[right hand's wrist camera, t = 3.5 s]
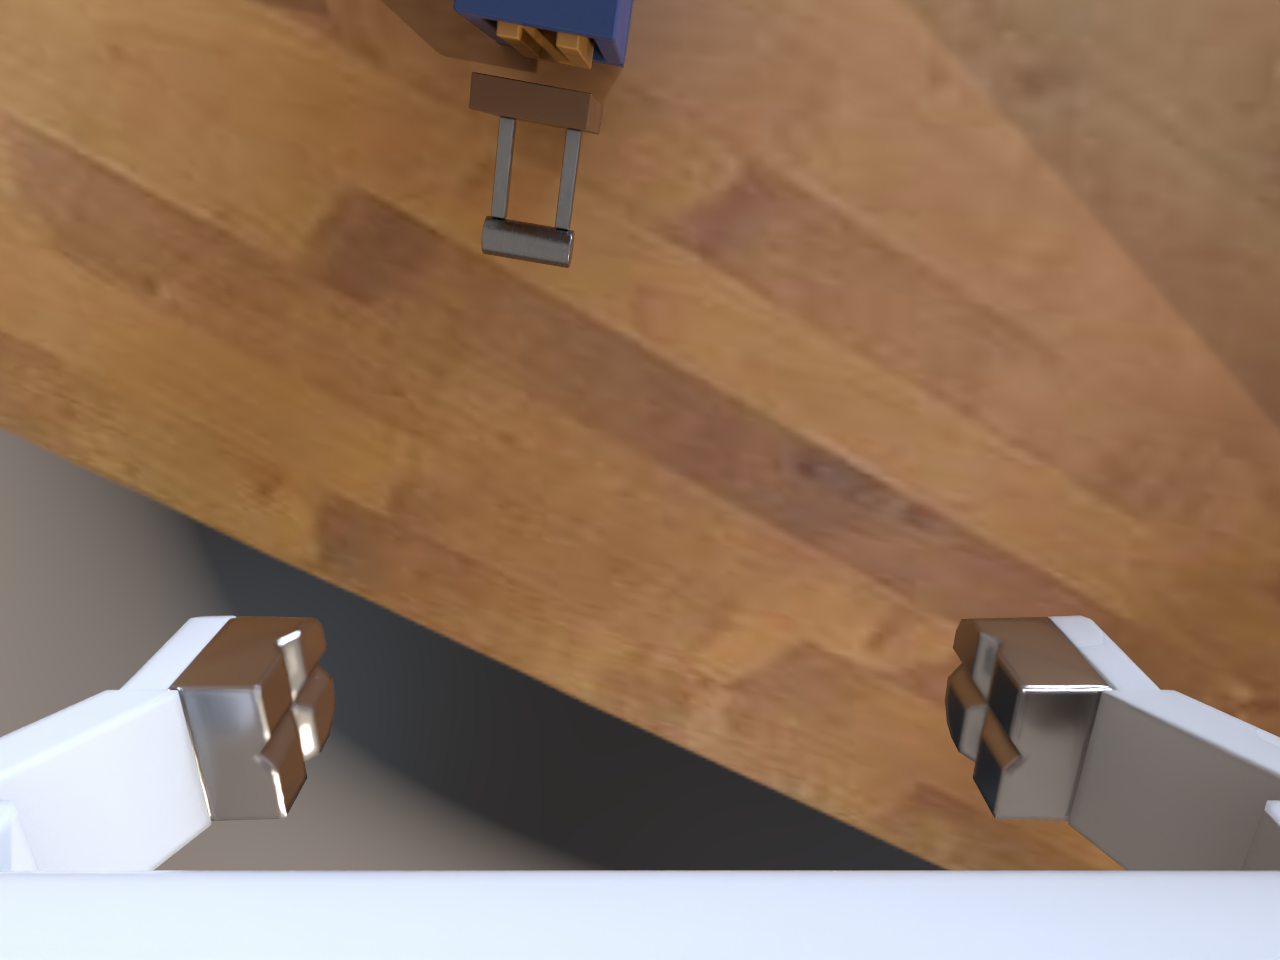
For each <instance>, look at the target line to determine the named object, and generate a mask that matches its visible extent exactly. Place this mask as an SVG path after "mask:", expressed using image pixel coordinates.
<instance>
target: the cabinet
mask: <svg viewBox="0 0 1280 960" xmlns="http://www.w3.org/2000/svg"><path fill="white" fill-rule="evenodd" d="M632 4H633V0H454V10H455V11H457V12H458V13H459V14H460V15H462V16H463V17H464V18H466V19H467V20H469V21H470V22H471V23H473V24H474V25H475V26H477V27H478V28H479V29H481V30H482V31H484V32H485V33H486V34H488V35H489V36H490V37H492V38H493V39H495V40H496V41H497V43H498V44H500V45H506V46H510V45H509V44H508V43H506V42H505V41H504V40H503V39H501V38H500V37H499V36H497V34H496V31H497V21H501V22H506V23H512V24H517V25H523V26H528V27H533V28H539V29H544V30H550V31H555V32H561V33H566V34H571V35H577V36H582V37H588V38H593V39H595V43H594V51H593V59H592V61H594V62H599V63H605V64H610V65H616V66H621V67H624V60H625V53H626V46H627V39H628V32H629V25H630V18H631V11H632Z"/></svg>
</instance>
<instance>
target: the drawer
mask: <svg viewBox="0 0 1280 960" xmlns="http://www.w3.org/2000/svg"><path fill="white" fill-rule="evenodd" d="M496 34H497V36H499V37H500V38H501V39H503V40H504V41H505V42H506V43H508V44H509V45H510V46H512V47H513V48H514V49H516V50H517V51H518V52H519V53H521V54H522V55H523V56H524V57H527V58H532V59H538V60H543V61H549V62H554V63H560V64H565V65H571V66H576V67H582V68H587V69H591V67H592V59H593V51H594V43H595V39H593V38H588V37H582V36H577V35H571V34H566V33H561V32H555V31H550V30H544V29H539V28H533V27H528V26H523V25H517V24H512V23H506V22H501V21H497V31H496ZM469 108H470V109H473V110H477V111H481V112H485V113H489V114H493V115H496V116H500V121H499V132H498V143H497V154H496V165H495V176H494V187H493V198H492V209H491V216H487V217H486V219H485V222H484V226H483V231H482V252H483V253H484V254H489V255H495V256H501V257H506V258H512V259H518V260H524V261H530V262H536V263H542V264H548V265H553V266H559V267H565V268H569V267H570V264H571V259H572V253H573V245H574V231H573V230H569V229H570V225H571V217H572V209H573V201H574V193H575V185H576V178H577V170H578V162H579V154H580V146H581V138H582V131H583V132H588V133H594V134H599V132H600V125H601V117H602V110H603V105H602V104H601V103H600V102H599V101H598V100H597V99H596V98H595V97H594V96H593V95H592V94H590V93H586V92H580V91H575V90H569V89H564V88H558V87H553V86H547V85H542V84H536V83H530V82H525V81H519V80H514V79H508V78H503V77H497V76H492V75H486V74H481V73H475V72H473V73H472V79H471V92H470V105H469ZM516 120H521V121H527V122H532V123H538V124H543V125H549V126H555V127H560V128H566V129H567V130H566V138H565V147H564V155H563V163H562V172H561V180H560V188H559V197H558V205H557V213H556V222H555V227H550V226H544V225H539V224H533V223H527V222H521V221H515V220H510V219H505V218H507V212H508V201H509V191H510V181H511V171H512V161H513V151H514V141H515V131H516Z"/></svg>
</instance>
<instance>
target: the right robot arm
mask: <svg viewBox="0 0 1280 960" xmlns="http://www.w3.org/2000/svg"><path fill="white" fill-rule="evenodd" d="M326 649H327V645H326V641H325V636H324V631H323V626H322V625H321V623H320V622H319V621H318V620H317V619H316V618H296V617H245V616H239V617H235V616H200V617H195V618H190V619H189V620H188V621H187V622H186V623H185V624H184V625H183V626H182V627H181V628H180V629H179V630H178V631H177V632H176V633H175V634H174V635H173V636H172V637H171V638H170V639H169V640H168V641H167V642H166V643H165V644H164V645H163V646H162V647H161V648H160V649H159V650H158V651H157V652H156V653H155V654H154V655H153V656H152V658H151V659H150V660H149V661H148V662H147V663H146V664H145V665H144V666H143V667H142V668H141V669H140V670H139V671H138V672H137V673H136V674H135V675H134V676H133V677H132V678H131V679H130V680H129V681H128V682H127V683H126V684H125V685H124V686H123V687H122V688H121V689H120V690H105V691H103V692H101V693H99V694H96V695H94V696H92V697H90V698H88V699H85V700H83V701H81V702H79V703H76V704H74V705H72V706H70V707H67V708H65V709H63V710H61V711H58V712H56V713H54V714H52V715H49V716H47V717H45V718H43V719H41V720H38V721H36V722H34V723H31V724H29V725H27V726H25V727H23V728H20V729H18V730H16V731H14V732H11V733H9V734H7V735H5V736H2V737H0V960H1280V737H1277V736H1275V735H1273V734H1271V733H1268V732H1266V731H1264V730H1262V729H1259V728H1257V727H1255V726H1253V725H1251V724H1248V723H1246V722H1244V721H1242V720H1239V719H1237V718H1235V717H1233V716H1230V715H1228V714H1226V713H1224V712H1221V711H1219V710H1217V709H1215V708H1213V707H1210V706H1208V705H1206V704H1204V703H1201V702H1199V701H1197V700H1195V699H1192V698H1190V697H1188V696H1186V695H1184V694H1181V693H1179V692H1177V691H1175V690H1160V689H1159V688H1158V687H1157V686H1156V685H1155V684H1154V683H1153V682H1152V681H1151V680H1150V679H1149V678H1148V677H1147V676H1146V675H1145V674H1144V673H1143V672H1142V671H1141V670H1140V669H1139V668H1138V667H1137V666H1136V664H1135V663H1134V662H1133V661H1132V660H1131V659H1130V658H1129V657H1128V656H1127V655H1126V654H1125V653H1124V652H1123V651H1122V650H1121V649H1120V648H1119V647H1118V646H1117V645H1116V644H1115V643H1114V642H1113V641H1112V640H1111V639H1110V638H1109V637H1108V636H1107V635H1106V634H1105V633H1104V632H1103V631H1102V630H1101V629H1100V628H1099V627H1098V626H1097V625H1096V624H1095V623H1094V622H1093V621H1092V620H1091V619H1089V618H1086V617H1083V616H1081V615H1080V616H1055V617H1021V618H981V619H961V621H960V624H959V626H958V628H957V630H956V634H955V640H954V645H953V649H954V650H955V652H956V654H957V655H958V657H959V658H960V660H961V662H962V664H961V665H960V666H959V667H958V668H957V669H956V670H955V671H954V672H953V673H952V674H951V675H950V676H949V677H948V681H947V689H946V696H945V706H946V717H947V724H948V727H949V731H950V734H951V737H952V739H953V741H954V743H955V745H956V747H957V749H958V751H959V752H960V753H961V754H963V755H964V756H966V757H967V758H969V759H970V760H972V761H973V762H975V768H974V774H973V779H974V781H975V783H976V785H977V786H978V788H979V790H980V792H981V794H982V796H983V797H984V799H985V801H986V803H987V805H988V807H989V808H990V810H991V812H992V814H993V816H994V818H995V819H1022V820H1059V821H1069V822H1068V824H1069V825H1070V826H1071V827H1073V828H1074V829H1075V830H1076V831H1078V832H1079V833H1080V834H1081V835H1083V836H1084V837H1085V838H1087V839H1088V840H1089V841H1090V842H1092V843H1093V844H1094V845H1095V846H1097V847H1098V848H1099V849H1101V850H1102V851H1103V852H1104V853H1106V854H1107V855H1108V856H1109V857H1111V858H1112V859H1113V860H1114V861H1116V862H1117V863H1118V864H1120V865H1121V866H1122V867H1123V868H1125V869H1126V870H1127V871H153V870H154V869H156V868H157V867H158V866H159V865H161V864H162V863H163V862H164V861H166V860H167V859H168V858H170V857H171V856H172V855H173V854H175V853H176V852H177V851H178V850H180V849H181V848H182V847H184V846H185V845H186V844H187V843H189V842H190V841H191V840H192V839H194V838H195V837H196V836H198V835H199V834H200V833H201V832H203V831H204V830H205V829H206V828H208V827H209V826H210V825H211V821H220V820H256V819H285V818H286V816H287V814H288V812H289V810H290V809H291V807H292V805H293V803H294V801H295V799H296V798H297V796H298V794H299V792H300V790H301V788H302V786H303V785H304V783H305V781H306V779H307V774H306V768H305V762H307V761H308V760H310V759H311V758H313V757H314V756H316V755H317V754H319V753H320V752H321V751H322V749H323V747H324V745H325V743H326V741H327V739H328V737H329V735H330V730H331V726H332V722H333V717H334V705H335V694H334V687H333V681H332V677H331V676H330V675H329V674H328V673H327V672H326V671H325V670H324V669H323V668H322V667H321V666H320V665H319V664H318V662H319V660H320V658H321V657H322V655H323V653H324V652H325V650H326Z"/></svg>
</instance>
